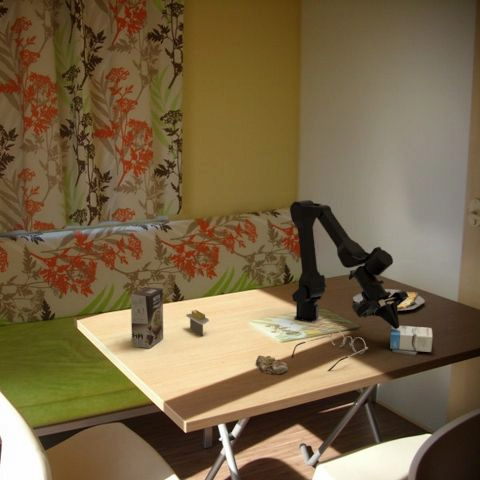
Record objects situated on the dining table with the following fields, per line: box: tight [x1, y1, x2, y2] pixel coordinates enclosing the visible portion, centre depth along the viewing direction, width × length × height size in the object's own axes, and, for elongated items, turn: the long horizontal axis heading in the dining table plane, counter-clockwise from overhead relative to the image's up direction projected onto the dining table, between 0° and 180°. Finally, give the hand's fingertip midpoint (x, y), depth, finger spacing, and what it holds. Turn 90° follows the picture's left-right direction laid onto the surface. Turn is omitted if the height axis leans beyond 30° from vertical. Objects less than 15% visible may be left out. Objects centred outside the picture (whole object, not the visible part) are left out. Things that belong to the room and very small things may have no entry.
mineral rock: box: [255, 355, 288, 375], centre depth 191 cm, size 11×4×8 cm
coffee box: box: [130, 286, 164, 349], centre depth 208 cm, size 9×6×16 cm
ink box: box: [389, 324, 434, 353], centre depth 206 cm, size 8×5×12 cm
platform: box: [185, 309, 210, 337], centre depth 219 cm, size 12×18×7 cm, turn 33°
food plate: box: [352, 288, 426, 312], centre depth 250 cm, size 25×23×4 cm
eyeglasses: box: [291, 330, 369, 372], centre depth 200 cm, size 16×19×5 cm
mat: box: [392, 349, 419, 356], centre depth 207 cm, size 7×10×1 cm, turn 155°
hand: (397, 328), depth 204 cm, fingers closed
